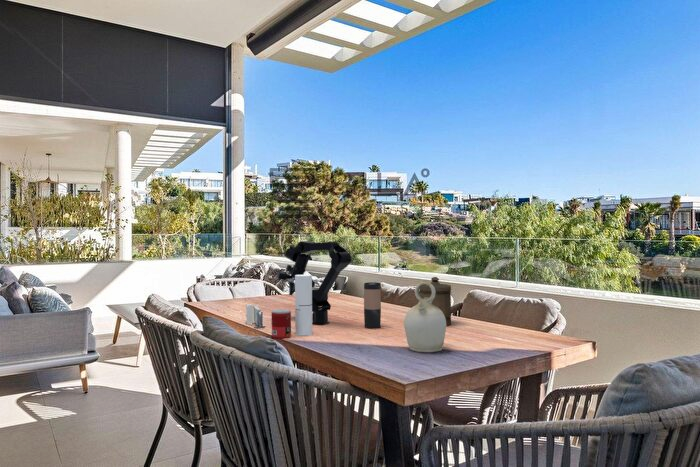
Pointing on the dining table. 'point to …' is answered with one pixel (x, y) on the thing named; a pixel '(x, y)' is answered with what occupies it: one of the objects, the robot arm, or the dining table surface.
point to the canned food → (281, 323)
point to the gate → (256, 313)
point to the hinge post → (259, 320)
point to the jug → (425, 324)
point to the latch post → (249, 313)
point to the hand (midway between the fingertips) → (290, 295)
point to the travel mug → (372, 305)
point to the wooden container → (439, 297)
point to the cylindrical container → (303, 305)
